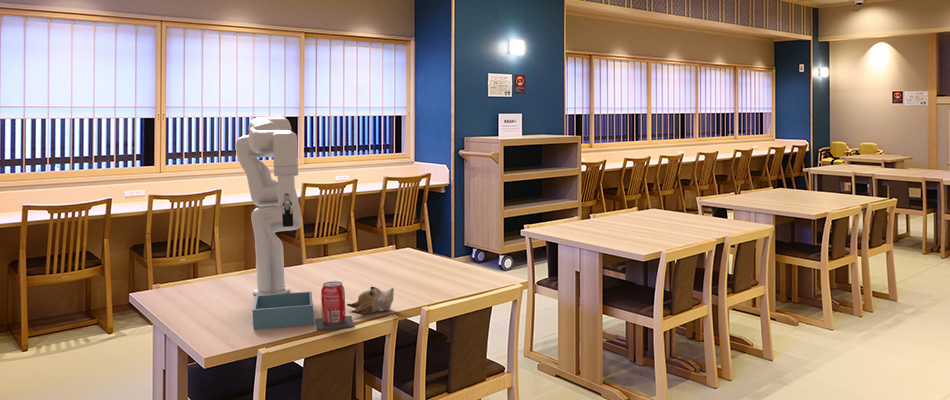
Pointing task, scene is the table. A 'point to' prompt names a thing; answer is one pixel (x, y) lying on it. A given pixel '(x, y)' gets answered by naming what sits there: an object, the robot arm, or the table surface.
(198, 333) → the table surface
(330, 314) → the soda can
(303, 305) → the open box
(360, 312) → the ceramic sculpture
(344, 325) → the gray square plate
